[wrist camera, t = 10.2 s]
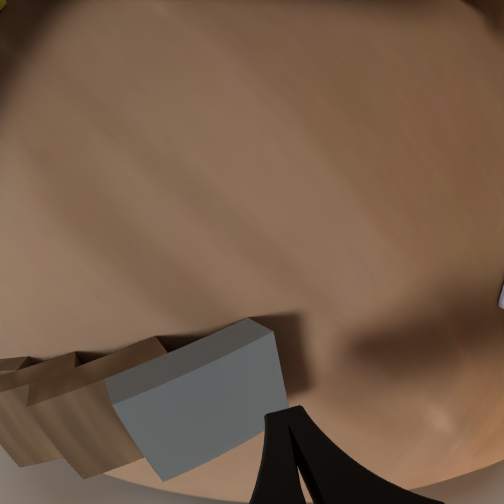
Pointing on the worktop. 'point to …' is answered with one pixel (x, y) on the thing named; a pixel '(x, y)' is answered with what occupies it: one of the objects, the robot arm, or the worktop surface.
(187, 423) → the slate domino
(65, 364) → the domino
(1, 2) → the candy box
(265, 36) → the worktop surface
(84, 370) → the domino
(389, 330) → the worktop surface
